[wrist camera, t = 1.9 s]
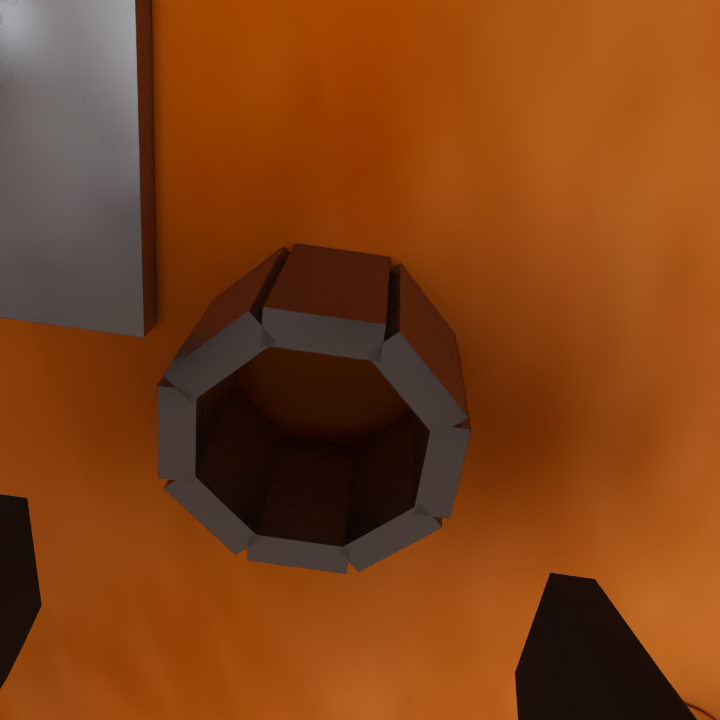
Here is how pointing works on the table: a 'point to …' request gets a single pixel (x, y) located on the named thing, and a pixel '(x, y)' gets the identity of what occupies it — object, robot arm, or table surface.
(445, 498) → the ring
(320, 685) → the table surface
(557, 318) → the table surface
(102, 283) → the square steel plate
